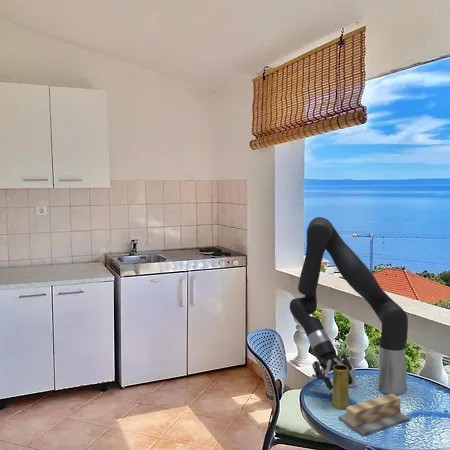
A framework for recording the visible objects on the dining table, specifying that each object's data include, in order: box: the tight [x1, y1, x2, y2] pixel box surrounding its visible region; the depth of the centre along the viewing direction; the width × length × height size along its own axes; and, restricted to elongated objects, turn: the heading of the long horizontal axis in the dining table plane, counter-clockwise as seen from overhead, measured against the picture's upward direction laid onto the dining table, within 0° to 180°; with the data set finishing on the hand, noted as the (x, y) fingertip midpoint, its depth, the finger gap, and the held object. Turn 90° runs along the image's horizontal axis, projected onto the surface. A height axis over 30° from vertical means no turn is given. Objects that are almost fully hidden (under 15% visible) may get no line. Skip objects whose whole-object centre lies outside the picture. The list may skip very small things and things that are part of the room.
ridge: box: [338, 394, 410, 437], centre depth 158 cm, size 20×12×6 cm, turn 116°
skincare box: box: [348, 362, 356, 388], centre depth 184 cm, size 6×6×7 cm
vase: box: [331, 364, 350, 410], centre depth 167 cm, size 6×6×14 cm
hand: (341, 386), depth 166 cm, fingers open, 8 cm apart
